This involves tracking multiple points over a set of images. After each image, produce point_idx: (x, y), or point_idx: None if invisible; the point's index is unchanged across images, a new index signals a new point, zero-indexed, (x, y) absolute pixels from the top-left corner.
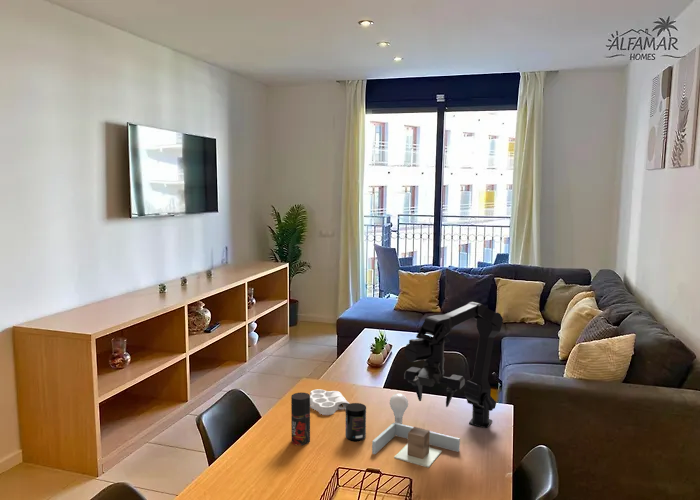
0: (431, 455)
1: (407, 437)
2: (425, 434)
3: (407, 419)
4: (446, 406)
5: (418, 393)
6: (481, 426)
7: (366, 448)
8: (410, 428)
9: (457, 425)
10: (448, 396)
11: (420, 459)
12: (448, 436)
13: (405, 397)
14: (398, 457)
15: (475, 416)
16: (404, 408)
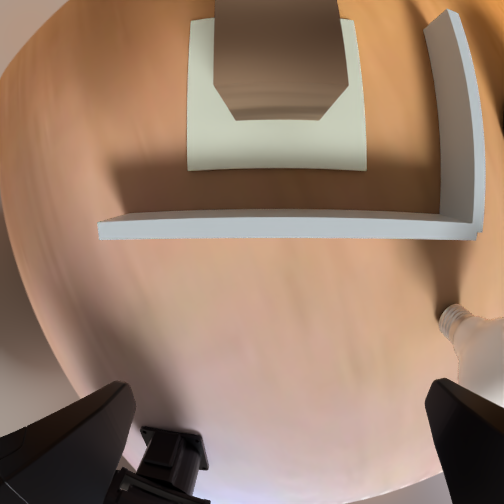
0: (212, 98)
1: (389, 211)
2: (215, 16)
3: (422, 372)
4: (120, 382)
5: (495, 420)
6: (157, 429)
7: None
8: (396, 218)
9: (231, 419)
10: (20, 445)
11: None
12: (151, 226)
13: (494, 402)
14: None
15: (167, 454)
16: (474, 348)
